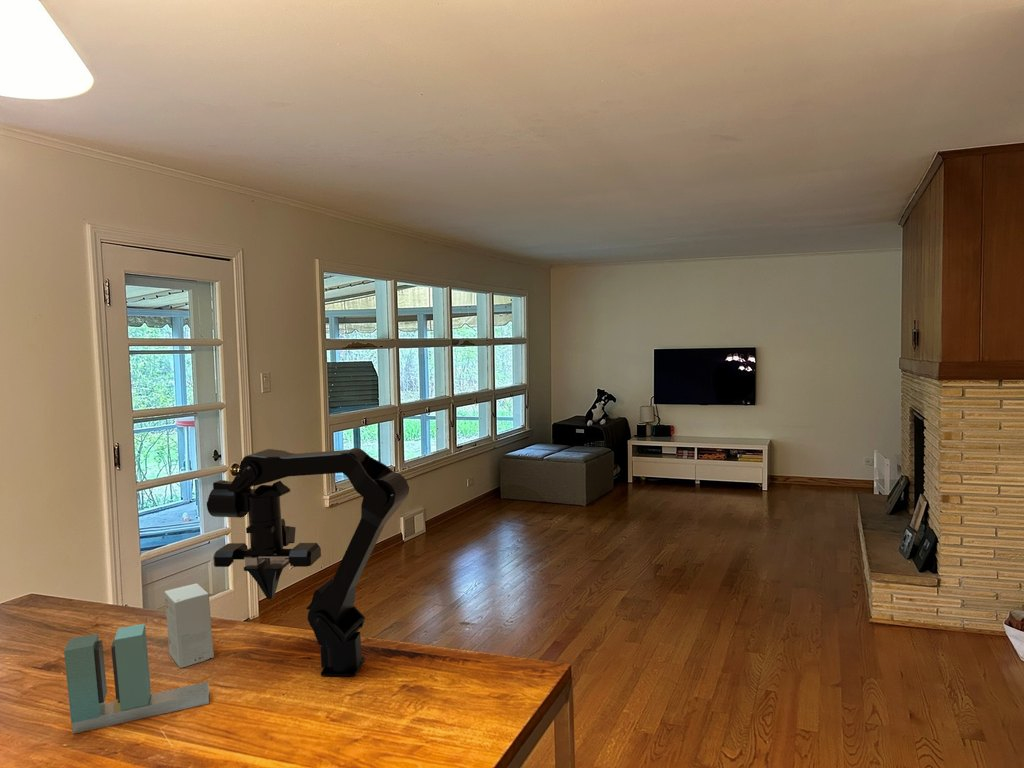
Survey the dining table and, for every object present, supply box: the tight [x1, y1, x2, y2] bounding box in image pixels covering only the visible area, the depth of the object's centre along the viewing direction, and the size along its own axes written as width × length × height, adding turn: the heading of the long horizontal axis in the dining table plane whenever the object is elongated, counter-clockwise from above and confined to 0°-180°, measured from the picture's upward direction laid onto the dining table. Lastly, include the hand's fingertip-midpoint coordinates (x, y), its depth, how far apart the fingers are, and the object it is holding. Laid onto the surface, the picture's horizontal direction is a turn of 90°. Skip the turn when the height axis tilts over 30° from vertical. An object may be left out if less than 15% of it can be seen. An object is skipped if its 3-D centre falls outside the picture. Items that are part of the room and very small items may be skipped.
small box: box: [164, 583, 215, 669], centre depth 137 cm, size 8×6×13 cm
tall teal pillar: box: [110, 623, 152, 711], centre depth 116 cm, size 5×5×12 cm
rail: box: [63, 633, 210, 735], centre depth 117 cm, size 20×5×14 cm, turn 112°
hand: (270, 598), depth 132 cm, fingers closed
